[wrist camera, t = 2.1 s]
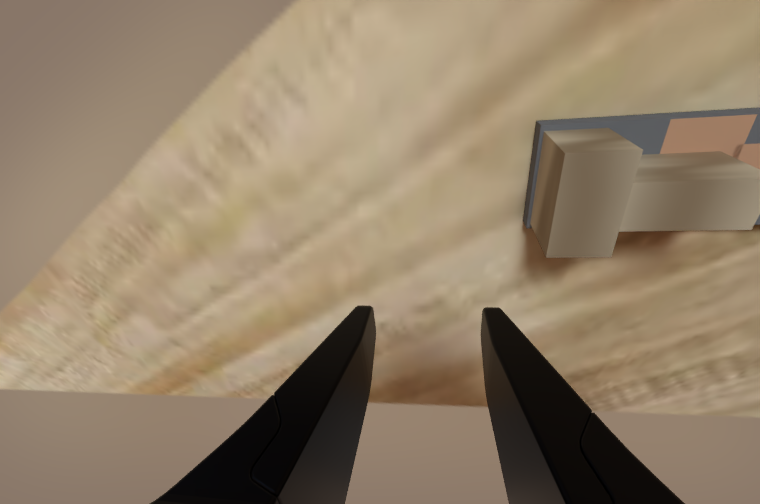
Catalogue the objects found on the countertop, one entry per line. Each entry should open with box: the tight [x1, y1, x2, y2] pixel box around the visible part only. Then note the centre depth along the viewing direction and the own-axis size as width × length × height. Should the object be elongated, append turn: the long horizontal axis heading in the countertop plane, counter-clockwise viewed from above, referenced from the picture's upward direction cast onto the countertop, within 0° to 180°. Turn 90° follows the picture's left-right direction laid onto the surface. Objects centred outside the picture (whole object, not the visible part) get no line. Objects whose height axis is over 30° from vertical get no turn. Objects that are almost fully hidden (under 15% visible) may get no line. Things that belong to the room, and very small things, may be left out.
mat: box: [523, 108, 760, 228], centre depth 16 cm, size 13×5×1 cm, turn 95°
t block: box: [530, 128, 760, 258], centre depth 15 cm, size 7×4×3 cm, turn 95°
